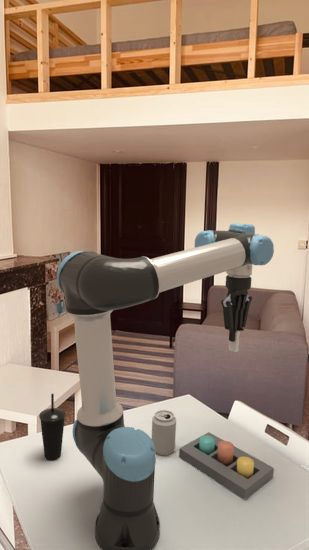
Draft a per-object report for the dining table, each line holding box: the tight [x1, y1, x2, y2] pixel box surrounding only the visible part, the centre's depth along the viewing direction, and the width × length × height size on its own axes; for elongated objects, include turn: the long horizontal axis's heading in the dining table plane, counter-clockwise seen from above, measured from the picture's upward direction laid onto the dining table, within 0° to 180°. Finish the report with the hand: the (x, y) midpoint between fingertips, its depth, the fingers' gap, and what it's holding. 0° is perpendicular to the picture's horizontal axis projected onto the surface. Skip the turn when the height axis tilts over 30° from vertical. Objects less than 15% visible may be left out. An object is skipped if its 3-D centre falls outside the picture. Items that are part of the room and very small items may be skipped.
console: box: [178, 431, 275, 501], centre depth 119 cm, size 14×24×3 cm, turn 43°
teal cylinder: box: [199, 434, 215, 455], centre depth 124 cm, size 5×5×5 cm
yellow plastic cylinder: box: [236, 456, 254, 479], centre depth 114 cm, size 5×5×5 cm
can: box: [151, 409, 177, 456], centre depth 126 cm, size 8×8×12 cm
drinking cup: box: [38, 393, 67, 462], centre depth 120 cm, size 8×8×20 cm
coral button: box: [217, 440, 235, 466], centre depth 119 cm, size 5×5×5 cm
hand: (233, 350), depth 124 cm, fingers closed
